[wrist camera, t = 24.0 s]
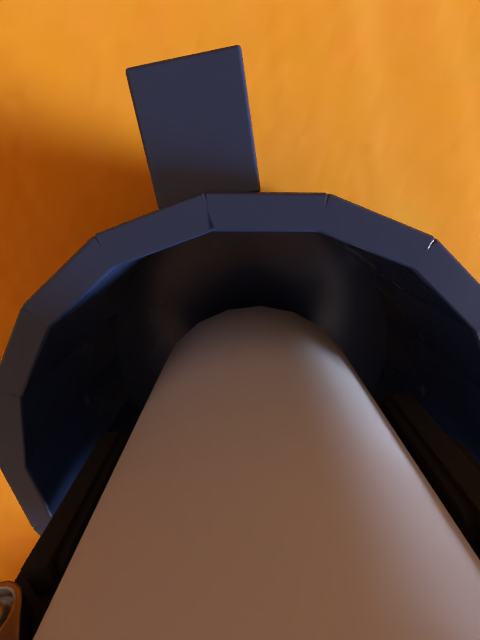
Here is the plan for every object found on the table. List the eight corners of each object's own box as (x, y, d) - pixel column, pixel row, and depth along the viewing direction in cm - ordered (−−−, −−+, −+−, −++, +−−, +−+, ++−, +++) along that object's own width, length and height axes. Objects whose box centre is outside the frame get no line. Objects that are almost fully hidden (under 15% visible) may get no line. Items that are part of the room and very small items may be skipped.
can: (195, 270, 12) (-610, 1480, 1) (378, 336, 13) (1393, 1358, 2) (145, 428, 14) (-211, 1256, 3) (300, 474, 15) (465, 1258, 4)
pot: (399, 90, 12) (605, -54, 5) (399, 484, 19) (489, 649, 12) (36, 160, 13) (-193, 117, 6) (159, 513, 20) (114, 682, 13)
